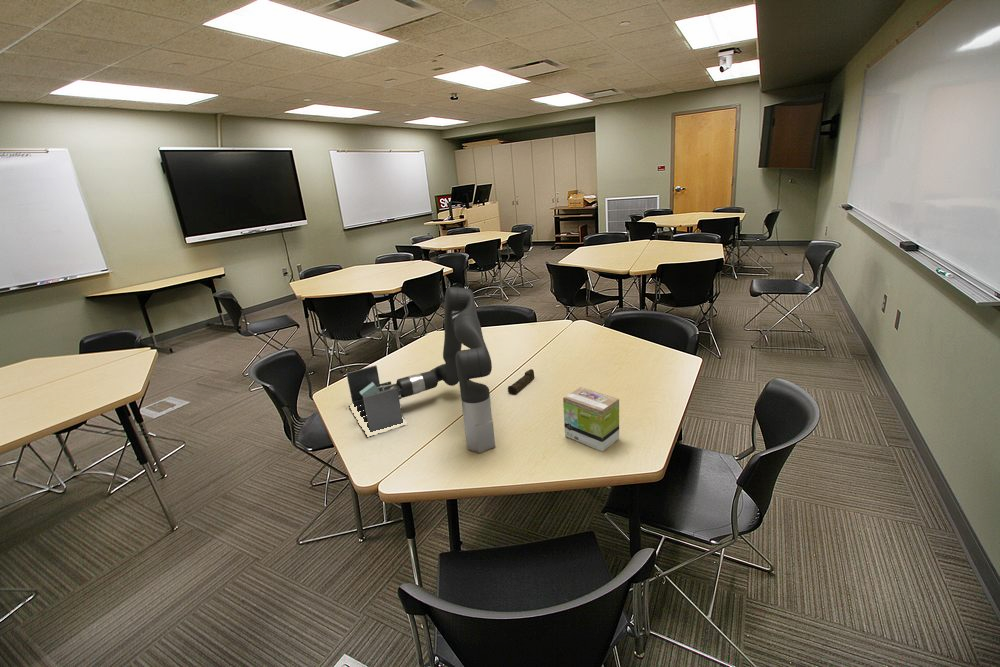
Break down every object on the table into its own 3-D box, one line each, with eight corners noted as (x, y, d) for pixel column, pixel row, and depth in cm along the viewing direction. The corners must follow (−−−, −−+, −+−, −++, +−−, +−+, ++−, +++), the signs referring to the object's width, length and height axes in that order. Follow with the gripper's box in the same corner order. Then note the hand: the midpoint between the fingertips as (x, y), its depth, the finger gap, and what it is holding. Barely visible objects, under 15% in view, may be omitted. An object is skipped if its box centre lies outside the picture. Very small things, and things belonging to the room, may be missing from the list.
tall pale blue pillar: (392, 407, 176) (374, 384, 170) (379, 417, 174) (361, 394, 169) (390, 404, 178) (372, 381, 173) (377, 414, 177) (359, 392, 171)
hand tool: (516, 396, 184) (515, 385, 183) (507, 394, 186) (506, 383, 185) (539, 378, 199) (539, 368, 197) (531, 377, 201) (531, 367, 200)
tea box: (563, 437, 151) (561, 396, 147) (581, 425, 158) (580, 385, 153) (602, 453, 141) (601, 409, 136) (620, 439, 147) (620, 397, 143)
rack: (407, 424, 168) (401, 387, 164) (366, 438, 162) (359, 399, 157) (385, 396, 194) (379, 364, 189) (348, 407, 187) (341, 373, 182)
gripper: (403, 371, 184) (362, 382, 176) (415, 382, 172) (372, 394, 164) (406, 388, 186) (366, 399, 179) (418, 400, 174) (375, 413, 167)
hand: (369, 397), depth 172 cm, fingers open, 7 cm apart
